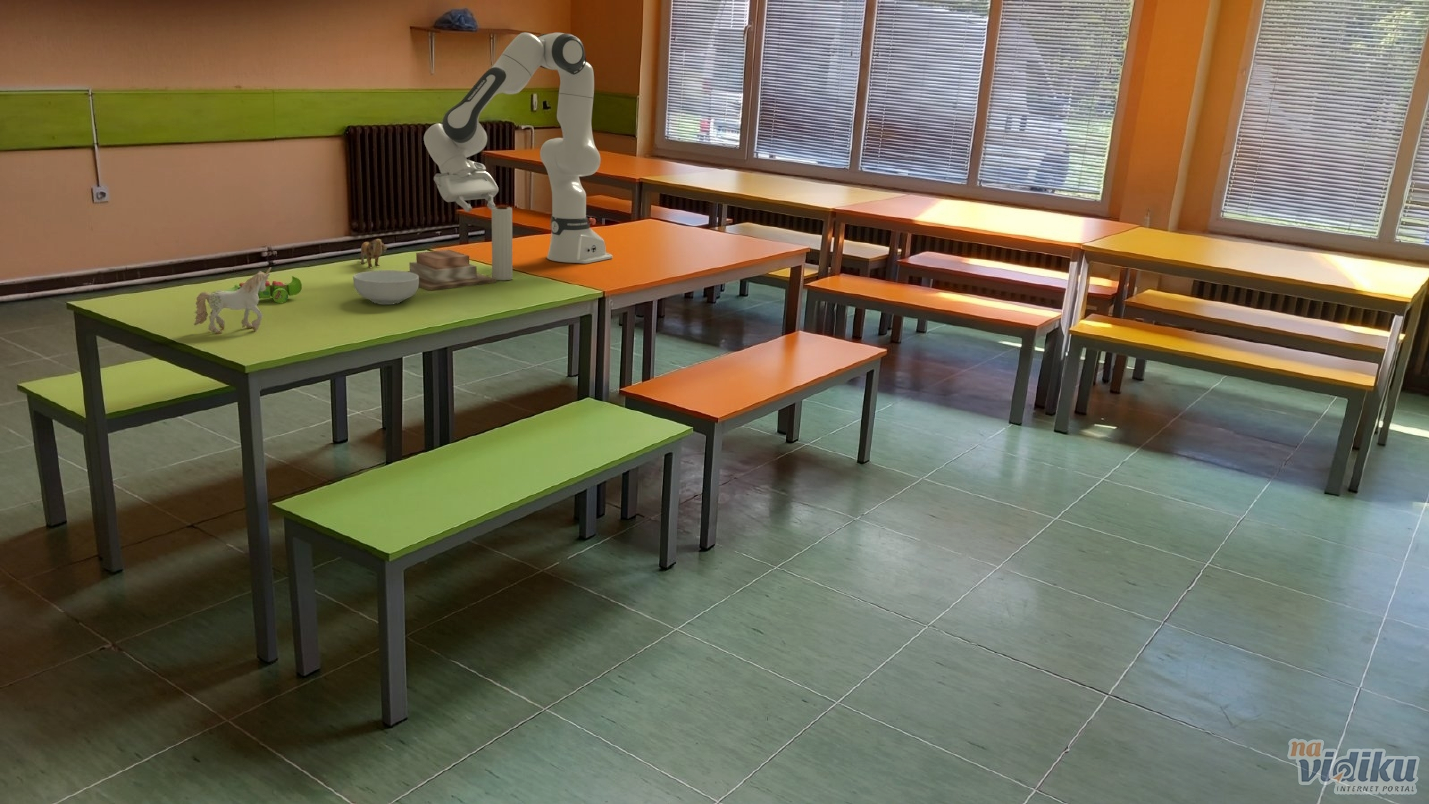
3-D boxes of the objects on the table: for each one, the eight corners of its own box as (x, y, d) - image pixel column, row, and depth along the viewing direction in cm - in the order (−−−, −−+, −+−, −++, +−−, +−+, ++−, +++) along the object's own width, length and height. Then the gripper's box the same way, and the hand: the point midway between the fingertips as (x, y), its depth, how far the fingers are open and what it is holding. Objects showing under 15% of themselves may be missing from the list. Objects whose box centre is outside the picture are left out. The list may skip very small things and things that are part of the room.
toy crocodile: (223, 307, 268) (221, 283, 266) (220, 301, 273) (217, 278, 271) (304, 302, 277) (303, 279, 275) (300, 296, 283) (298, 274, 281)
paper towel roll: (498, 281, 313) (497, 209, 306) (488, 277, 318) (487, 206, 311) (519, 279, 318) (519, 208, 311) (509, 275, 322) (509, 205, 315)
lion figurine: (390, 268, 322) (388, 239, 319) (373, 270, 318) (372, 240, 315) (367, 260, 332) (365, 231, 329) (351, 261, 328) (349, 233, 325)
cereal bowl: (432, 301, 286) (432, 275, 284) (385, 311, 272) (384, 285, 270) (388, 291, 294) (387, 266, 292) (340, 301, 280) (339, 275, 278)
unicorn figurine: (288, 327, 253) (284, 272, 249) (206, 339, 239) (200, 281, 235) (275, 320, 257) (271, 267, 253) (193, 332, 244) (187, 275, 240)
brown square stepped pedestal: (455, 269, 327) (454, 245, 324) (495, 282, 312) (495, 257, 310) (390, 276, 312) (389, 251, 309) (430, 290, 297) (429, 264, 295)
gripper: (436, 167, 308) (459, 205, 306) (487, 164, 325) (510, 200, 322) (426, 181, 312) (449, 218, 310) (477, 177, 328) (500, 212, 326)
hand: (481, 209), depth 316 cm, fingers open, 8 cm apart
